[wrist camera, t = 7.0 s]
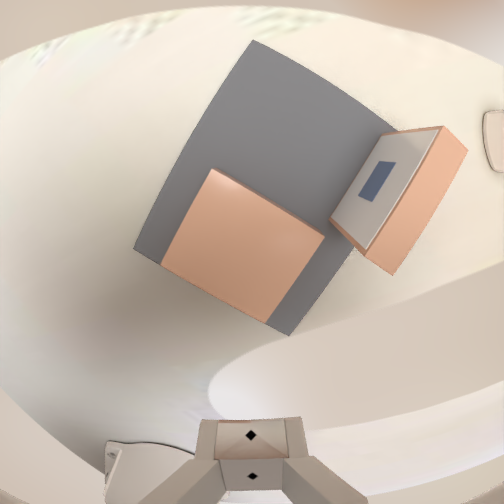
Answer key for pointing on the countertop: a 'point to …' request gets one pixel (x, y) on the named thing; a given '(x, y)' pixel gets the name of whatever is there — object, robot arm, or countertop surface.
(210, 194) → the tile
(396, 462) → the countertop surface
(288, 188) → the mat
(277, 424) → the robot arm
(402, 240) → the tile
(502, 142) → the eye dropper bottle
